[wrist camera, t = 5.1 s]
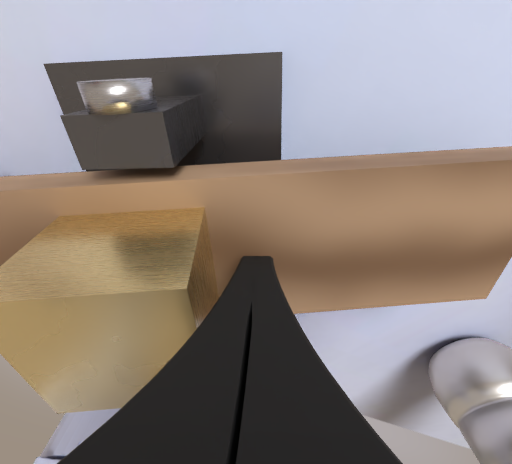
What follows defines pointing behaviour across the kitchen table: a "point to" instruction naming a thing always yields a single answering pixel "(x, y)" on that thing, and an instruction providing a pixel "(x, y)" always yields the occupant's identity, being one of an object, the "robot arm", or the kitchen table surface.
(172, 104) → the pivot stand
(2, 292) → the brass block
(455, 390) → the plastic bottle
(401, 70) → the kitchen table surface
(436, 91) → the kitchen table surface
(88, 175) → the balance beam
